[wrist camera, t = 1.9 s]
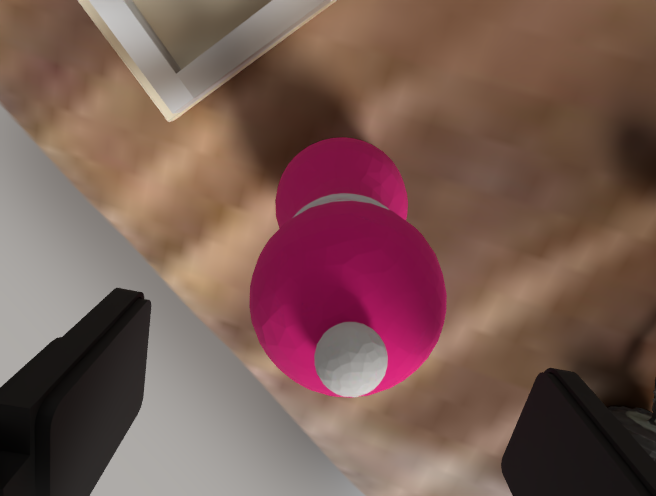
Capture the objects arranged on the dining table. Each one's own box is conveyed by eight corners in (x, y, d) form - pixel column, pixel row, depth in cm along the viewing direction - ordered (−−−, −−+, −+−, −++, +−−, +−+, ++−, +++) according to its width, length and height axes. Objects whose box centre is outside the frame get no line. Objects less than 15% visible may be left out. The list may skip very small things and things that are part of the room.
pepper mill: (260, 184, 29) (123, 372, 10) (344, 104, 27) (367, 149, 8) (336, 261, 31) (341, 543, 12) (419, 190, 29) (580, 390, 10)
